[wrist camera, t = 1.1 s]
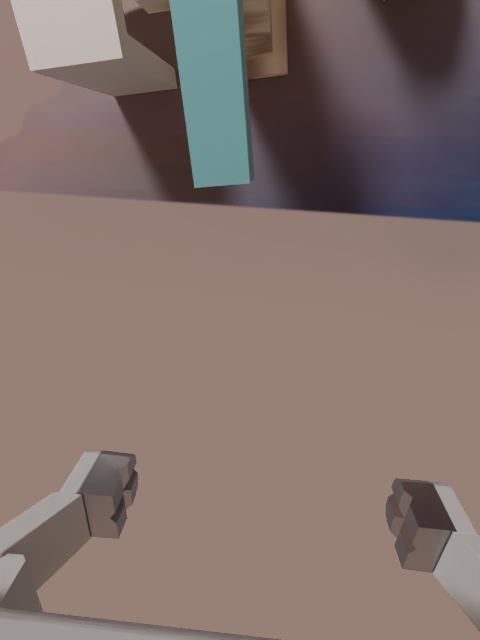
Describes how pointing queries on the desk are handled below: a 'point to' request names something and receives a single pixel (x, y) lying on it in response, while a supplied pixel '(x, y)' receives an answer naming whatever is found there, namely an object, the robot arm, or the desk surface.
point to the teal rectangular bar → (214, 89)
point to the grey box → (89, 47)
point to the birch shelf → (254, 34)
